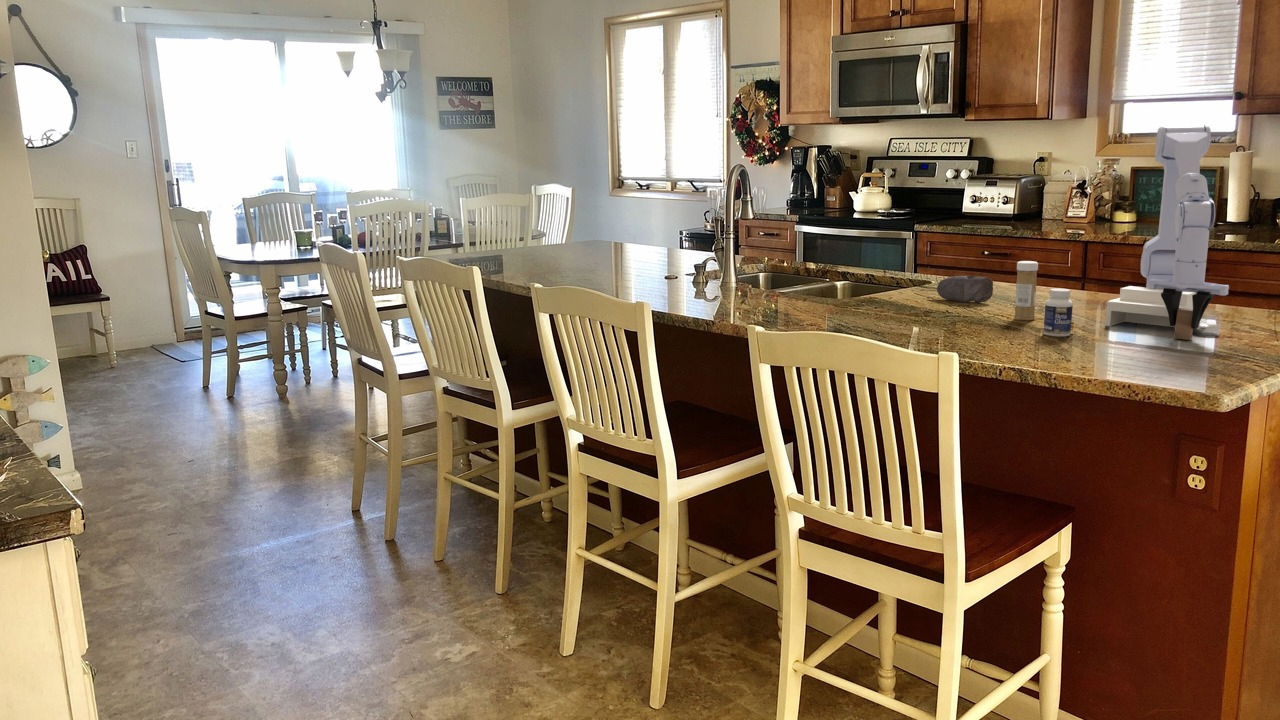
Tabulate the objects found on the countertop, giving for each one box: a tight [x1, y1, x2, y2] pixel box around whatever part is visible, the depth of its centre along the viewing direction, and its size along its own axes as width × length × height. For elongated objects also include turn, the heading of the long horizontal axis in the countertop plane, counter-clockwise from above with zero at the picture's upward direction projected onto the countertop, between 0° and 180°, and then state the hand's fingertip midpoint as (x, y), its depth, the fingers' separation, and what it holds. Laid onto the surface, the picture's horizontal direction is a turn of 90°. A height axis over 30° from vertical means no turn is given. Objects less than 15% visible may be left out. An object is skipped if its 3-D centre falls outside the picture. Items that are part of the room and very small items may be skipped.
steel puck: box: [1192, 322, 1220, 337], centre depth 213 cm, size 5×5×2 cm
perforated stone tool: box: [936, 275, 994, 304], centre depth 260 cm, size 15×5×7 cm, turn 41°
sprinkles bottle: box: [1013, 260, 1039, 322], centre depth 233 cm, size 5×5×14 cm
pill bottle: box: [1042, 287, 1074, 338], centre depth 215 cm, size 5×5×10 cm
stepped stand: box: [1105, 285, 1197, 328], centre depth 222 cm, size 9×15×8 cm, turn 42°
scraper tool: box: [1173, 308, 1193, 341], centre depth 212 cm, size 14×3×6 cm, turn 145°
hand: (1184, 326), depth 208 cm, fingers closed on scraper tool, 3 cm apart
